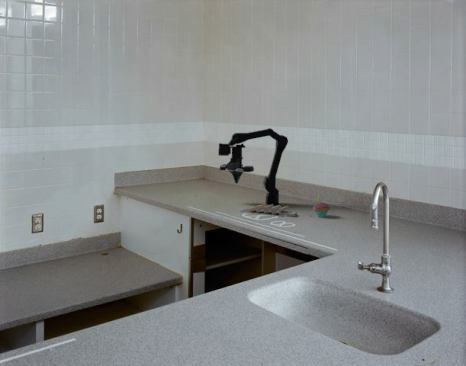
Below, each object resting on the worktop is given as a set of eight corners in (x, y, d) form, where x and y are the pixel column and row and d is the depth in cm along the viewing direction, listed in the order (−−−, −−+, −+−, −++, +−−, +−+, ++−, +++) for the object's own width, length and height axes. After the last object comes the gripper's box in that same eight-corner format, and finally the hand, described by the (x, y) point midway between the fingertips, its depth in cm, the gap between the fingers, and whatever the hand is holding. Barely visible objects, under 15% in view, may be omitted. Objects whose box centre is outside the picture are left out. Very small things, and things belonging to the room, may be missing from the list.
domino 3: (263, 210, 288) (276, 206, 284) (267, 209, 292) (280, 204, 289) (264, 213, 288) (277, 209, 284) (268, 211, 292) (281, 207, 289)
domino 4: (271, 211, 286) (284, 207, 282) (274, 209, 290) (288, 205, 287) (272, 214, 286) (285, 210, 282) (275, 212, 290) (289, 208, 287)
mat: (238, 212, 292) (238, 211, 292) (246, 209, 300) (246, 208, 300) (283, 217, 281) (283, 216, 281) (289, 214, 289) (289, 213, 289)
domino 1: (248, 209, 292) (261, 204, 288) (252, 207, 296) (265, 203, 292) (249, 212, 292) (262, 207, 288) (253, 210, 296) (266, 205, 292)
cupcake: (319, 218, 279) (320, 195, 277) (309, 215, 287) (310, 192, 285) (332, 217, 283) (333, 194, 281) (322, 213, 290) (323, 191, 289)
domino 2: (255, 210, 290) (269, 205, 286) (259, 208, 294) (272, 204, 291) (256, 212, 290) (270, 208, 286) (260, 211, 294) (273, 206, 291)
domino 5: (278, 212, 284) (293, 213, 281) (282, 210, 289) (297, 212, 285) (278, 215, 284) (293, 217, 281) (282, 213, 289) (297, 215, 285)
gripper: (215, 156, 306) (215, 184, 308) (245, 158, 297) (245, 186, 300) (224, 154, 315) (224, 181, 318) (254, 156, 307) (254, 183, 310)
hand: (236, 183), depth 311 cm, fingers closed
